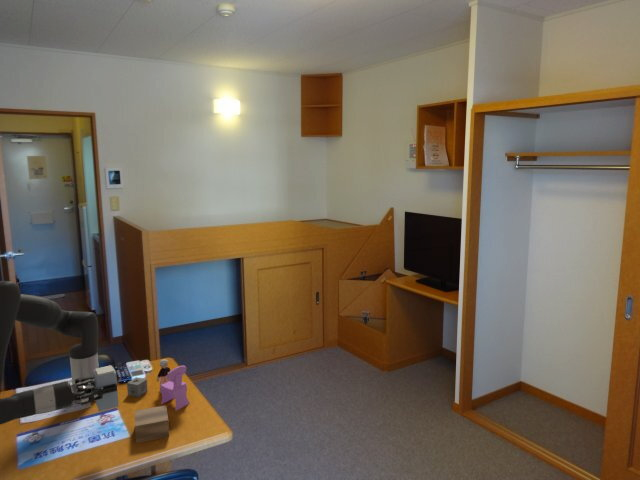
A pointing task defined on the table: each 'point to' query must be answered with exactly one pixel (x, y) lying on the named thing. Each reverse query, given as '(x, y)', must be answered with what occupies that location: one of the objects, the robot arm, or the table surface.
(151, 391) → the table surface
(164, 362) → the grandmother figurine
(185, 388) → the toy chair
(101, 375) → the slate-blue canister
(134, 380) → the dice cube
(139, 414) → the walnut block
